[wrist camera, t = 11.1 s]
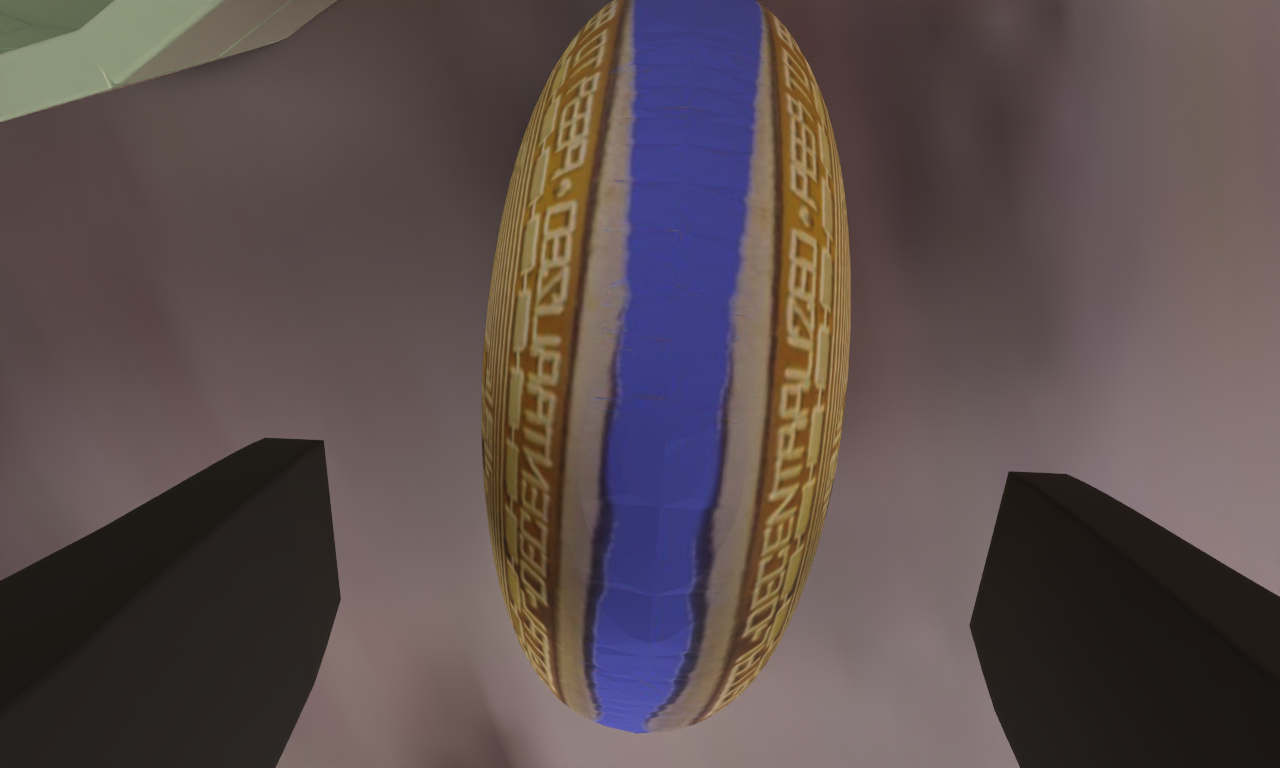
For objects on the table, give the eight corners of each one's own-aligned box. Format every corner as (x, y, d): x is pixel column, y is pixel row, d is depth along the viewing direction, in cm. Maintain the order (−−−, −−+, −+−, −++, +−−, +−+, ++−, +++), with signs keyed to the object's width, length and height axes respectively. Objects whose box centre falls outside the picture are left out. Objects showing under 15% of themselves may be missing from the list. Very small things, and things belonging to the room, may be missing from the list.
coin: (850, 436, 20) (1023, 857, 11) (586, 496, 20) (538, 941, 11) (751, -60, 16) (893, -55, 7) (426, 37, 16) (154, 160, 7)
